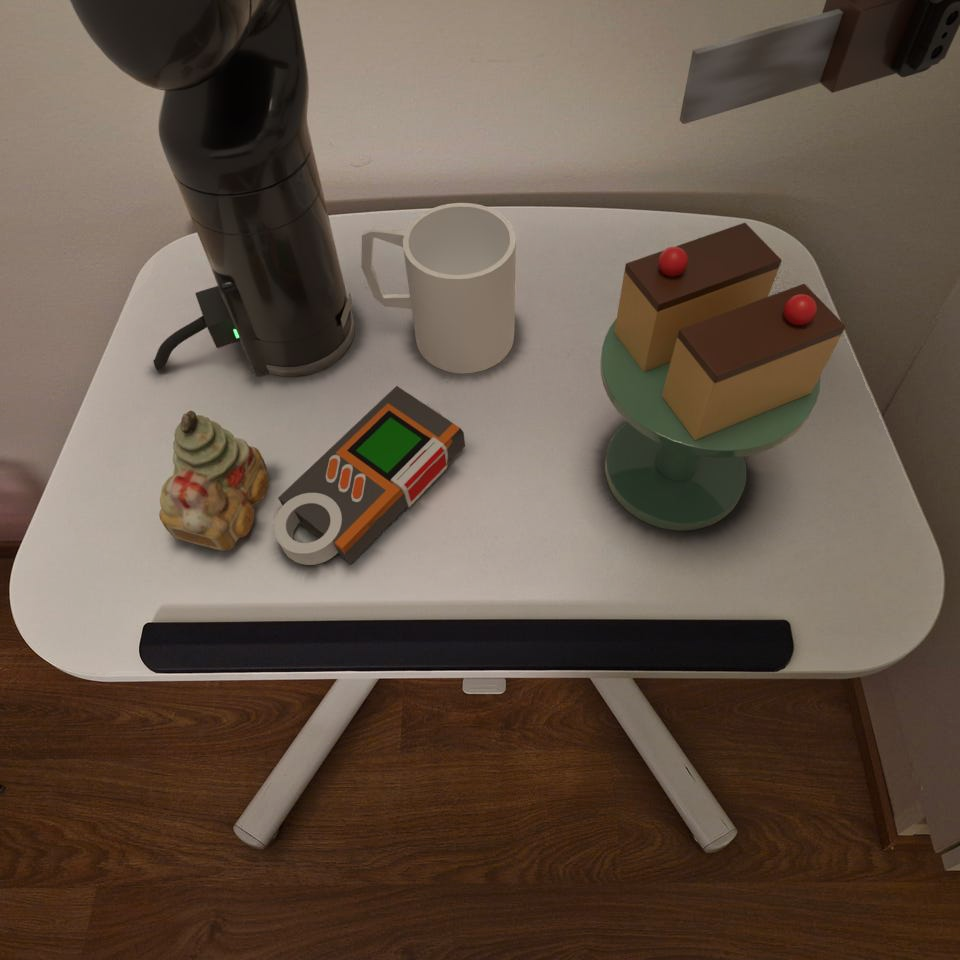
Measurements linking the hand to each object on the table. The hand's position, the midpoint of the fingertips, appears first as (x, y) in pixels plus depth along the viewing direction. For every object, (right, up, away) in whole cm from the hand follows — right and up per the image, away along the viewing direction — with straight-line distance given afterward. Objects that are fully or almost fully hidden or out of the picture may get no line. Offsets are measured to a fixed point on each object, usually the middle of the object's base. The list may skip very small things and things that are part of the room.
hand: (891, 54), depth 41 cm
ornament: (-40, -24, +16) cm, 49 cm away
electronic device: (-30, -23, +17) cm, 41 cm away
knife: (-5, -2, -1) cm, 5 cm away
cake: (-8, -15, +7) cm, 18 cm away
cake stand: (-7, -21, +17) cm, 28 cm away
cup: (-25, -10, +25) cm, 36 cm away
